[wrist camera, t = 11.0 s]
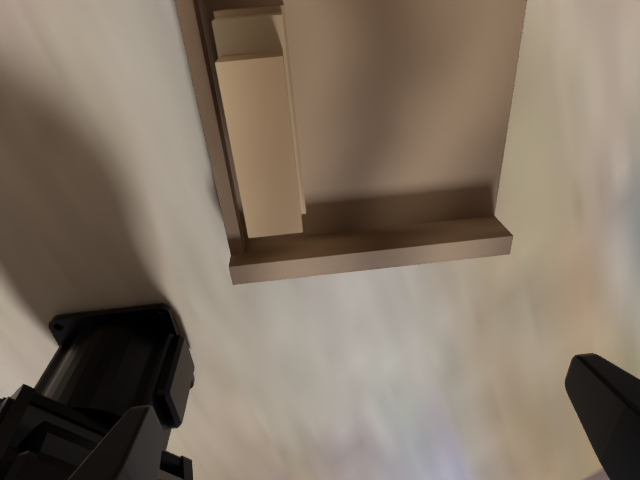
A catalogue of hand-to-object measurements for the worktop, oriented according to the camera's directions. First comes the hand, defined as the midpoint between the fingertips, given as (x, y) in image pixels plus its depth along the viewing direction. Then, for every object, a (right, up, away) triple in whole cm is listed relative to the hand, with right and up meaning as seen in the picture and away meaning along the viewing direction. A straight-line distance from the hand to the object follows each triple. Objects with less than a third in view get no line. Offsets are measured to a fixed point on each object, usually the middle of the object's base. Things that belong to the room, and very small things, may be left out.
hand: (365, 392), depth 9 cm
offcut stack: (-3, +8, +9) cm, 13 cm away
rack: (+1, +9, +10) cm, 13 cm away
